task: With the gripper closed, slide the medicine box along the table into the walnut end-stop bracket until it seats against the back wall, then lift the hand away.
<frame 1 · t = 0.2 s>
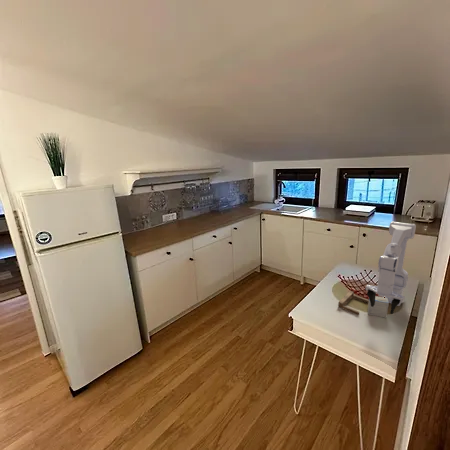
hand: (382, 309, 113), 10 cm above the table, tool pointing down, fingers open, 7 cm apart
medicine box: (376, 314, 126), on the table
end stop: (353, 304, 133), on the table
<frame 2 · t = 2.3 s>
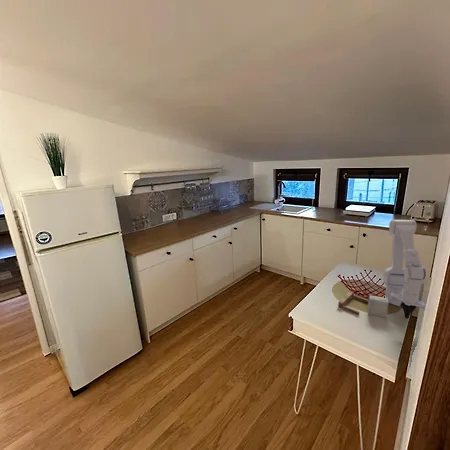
hand: (406, 317, 115), 4 cm above the table, tool pointing down, fingers closed
nothing on the table moved.
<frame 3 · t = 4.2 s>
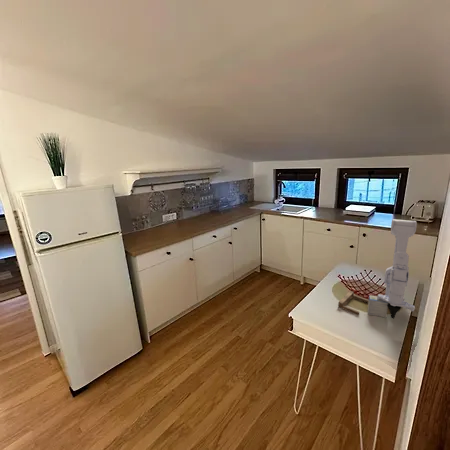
hand: (392, 317, 120), 1 cm above the table, tool pointing down, fingers closed
medicine box: (376, 314, 126), on the table, touching gripper
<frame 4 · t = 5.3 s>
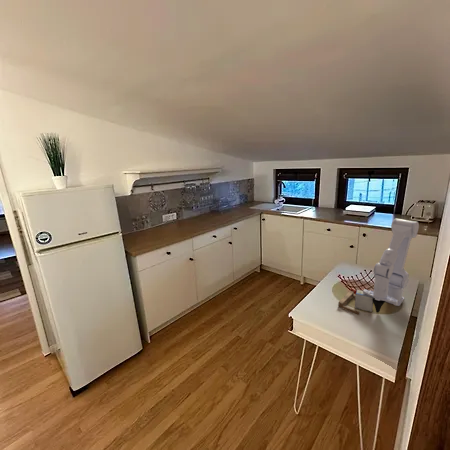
hand: (377, 311, 125), 1 cm above the table, tool pointing down, fingers closed
medicine box: (363, 308, 130), on the table, touching gripper
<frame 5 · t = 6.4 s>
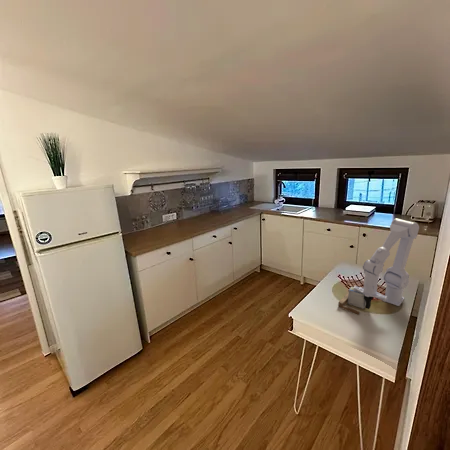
hand: (367, 307, 128), 2 cm above the table, tool pointing down, fingers closed
medicine box: (356, 304, 133), on the table, touching end stop, gripper
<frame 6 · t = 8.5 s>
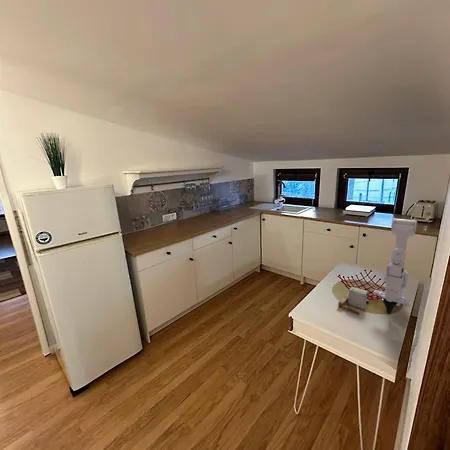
hand: (389, 312, 121), 3 cm above the table, tool pointing down, fingers closed
medicine box: (356, 305, 133), on the table
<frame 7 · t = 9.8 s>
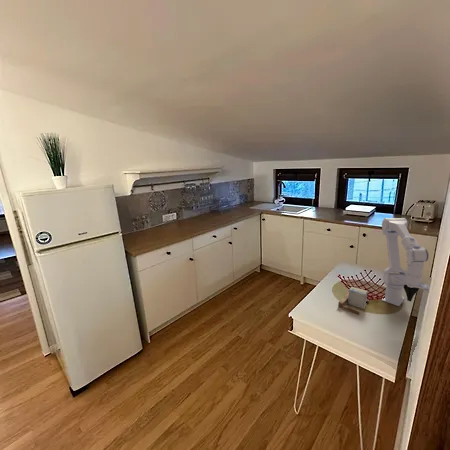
hand: (409, 300, 117), 10 cm above the table, tool pointing down, fingers closed
nothing on the table moved.
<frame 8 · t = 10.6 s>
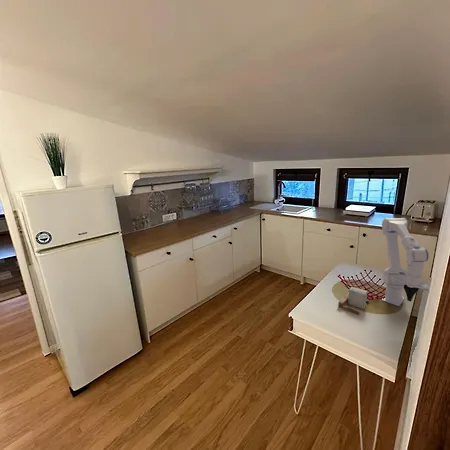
hand: (409, 300, 117), 10 cm above the table, tool pointing down, fingers closed
nothing on the table moved.
at the end: medicine box inside the target area (1.1 cm from its centre), on the table; medicine box tilted 0°; medicine box moved 10.0 cm from its start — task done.
